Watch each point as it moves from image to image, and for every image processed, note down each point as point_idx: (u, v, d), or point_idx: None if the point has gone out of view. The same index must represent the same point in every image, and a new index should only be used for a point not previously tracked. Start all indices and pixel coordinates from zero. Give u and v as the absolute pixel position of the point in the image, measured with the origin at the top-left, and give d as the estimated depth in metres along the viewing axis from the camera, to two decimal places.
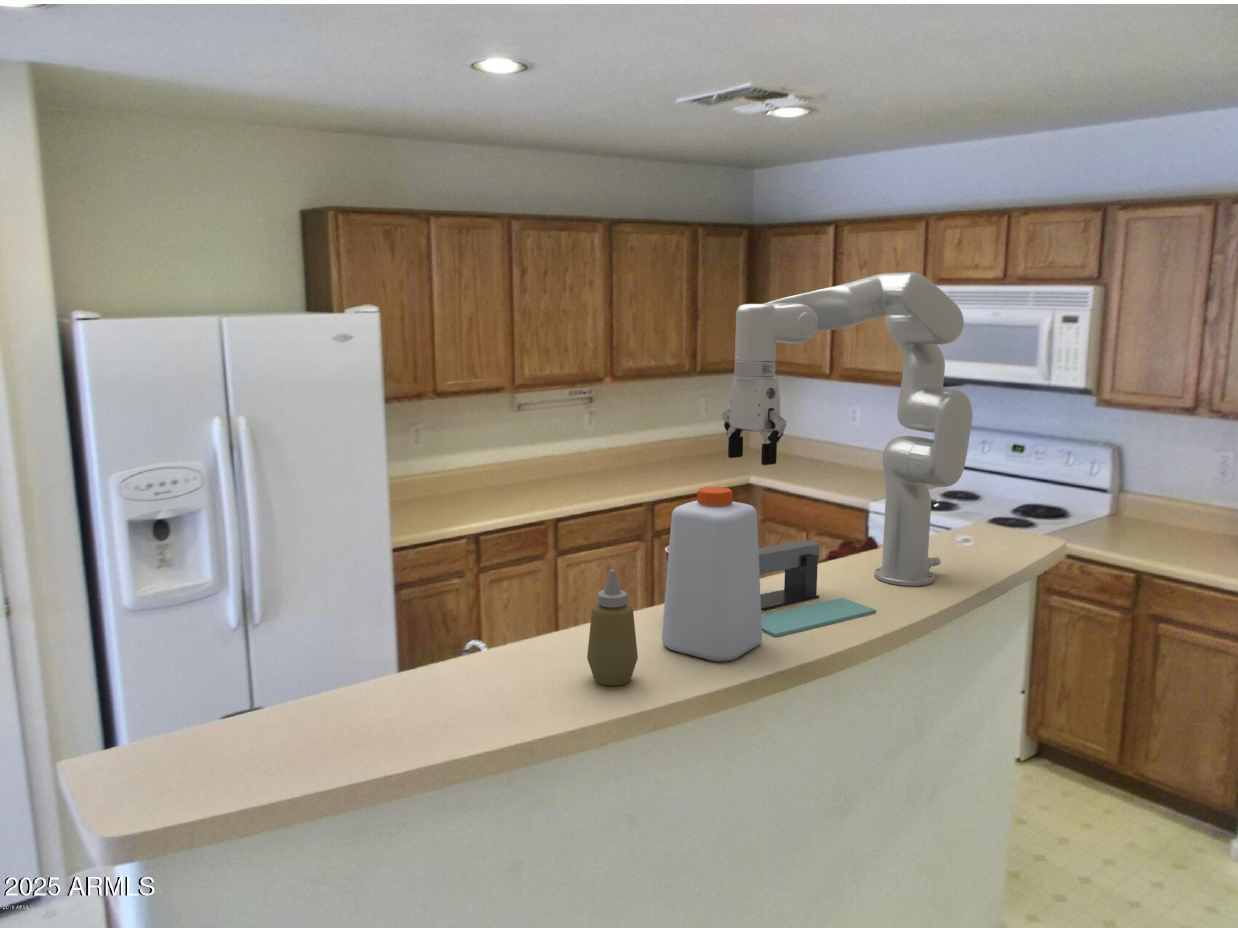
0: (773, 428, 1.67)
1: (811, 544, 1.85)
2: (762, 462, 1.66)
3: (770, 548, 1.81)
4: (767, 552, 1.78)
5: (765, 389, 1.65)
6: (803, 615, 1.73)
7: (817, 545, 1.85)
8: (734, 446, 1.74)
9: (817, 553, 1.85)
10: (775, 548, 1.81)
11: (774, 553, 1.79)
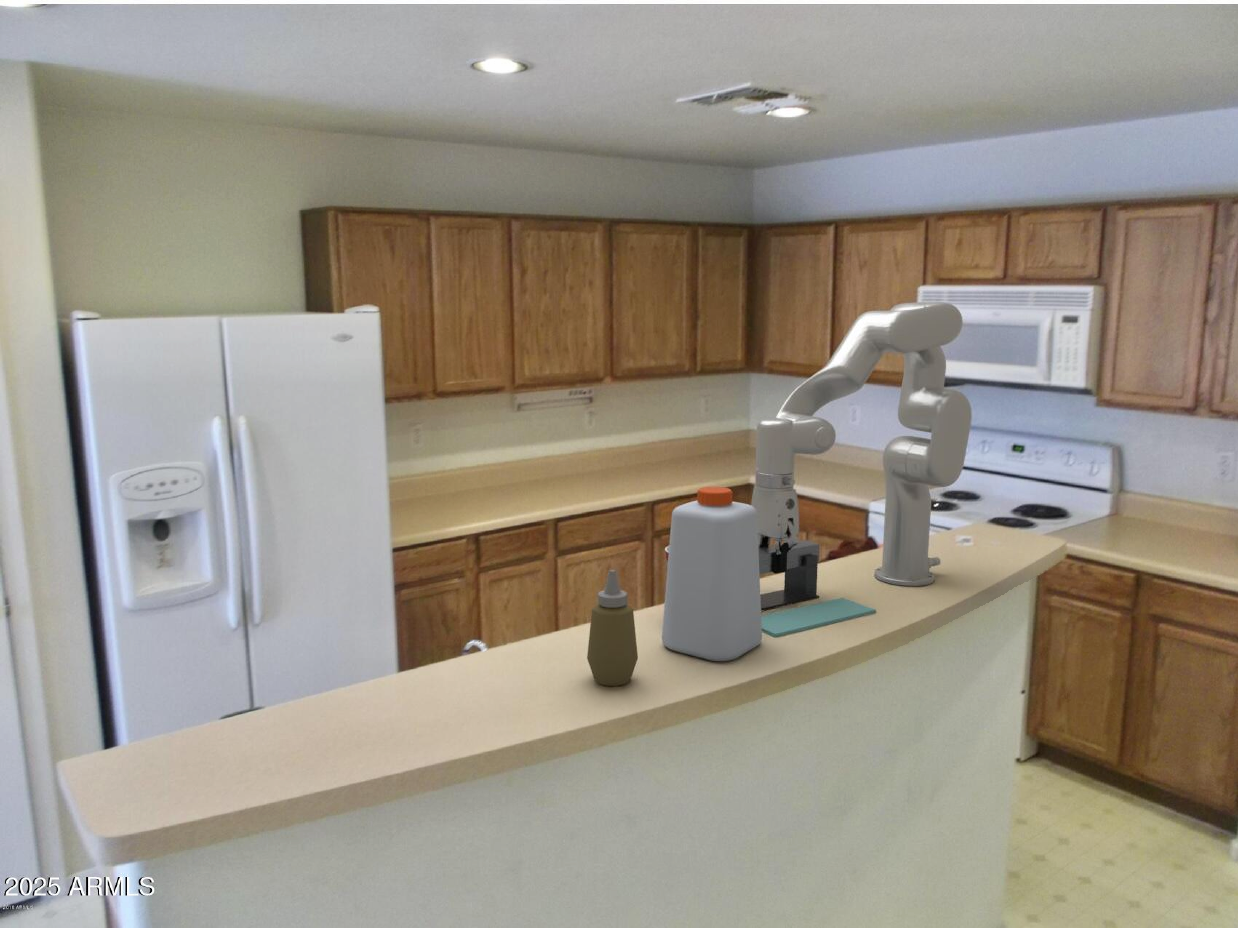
0: (787, 539, 1.78)
1: (811, 544, 1.85)
2: (773, 571, 1.79)
3: (770, 548, 1.81)
4: (767, 552, 1.78)
5: (785, 500, 1.75)
6: (803, 615, 1.73)
7: (817, 545, 1.85)
8: None
9: (817, 553, 1.85)
10: None
11: (774, 553, 1.79)
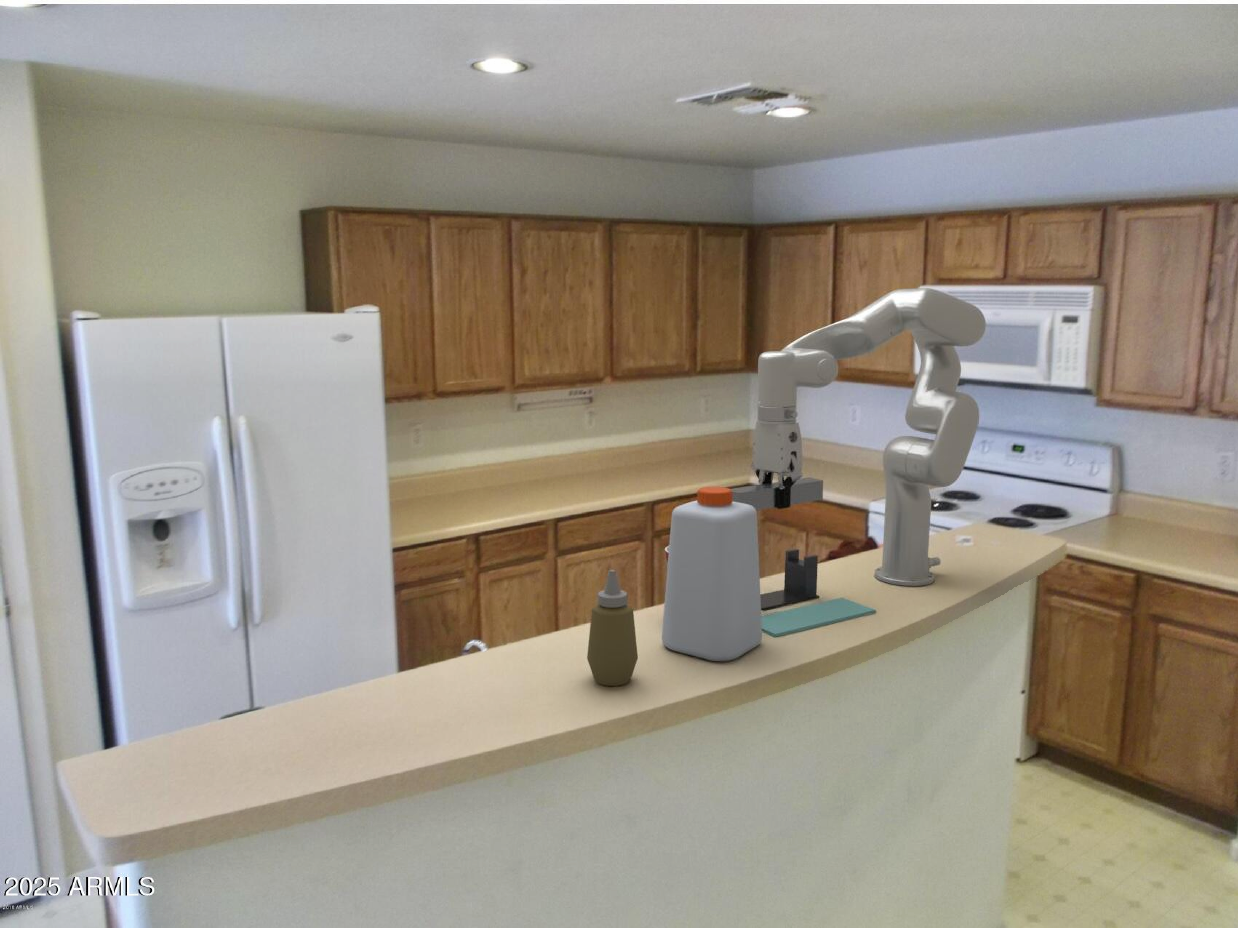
0: (791, 473, 1.76)
1: (815, 480, 1.83)
2: (777, 506, 1.77)
3: (773, 484, 1.79)
4: (770, 487, 1.76)
5: (787, 433, 1.73)
6: (803, 615, 1.73)
7: (821, 481, 1.83)
8: None
9: (821, 489, 1.83)
10: (778, 484, 1.79)
11: (777, 488, 1.77)
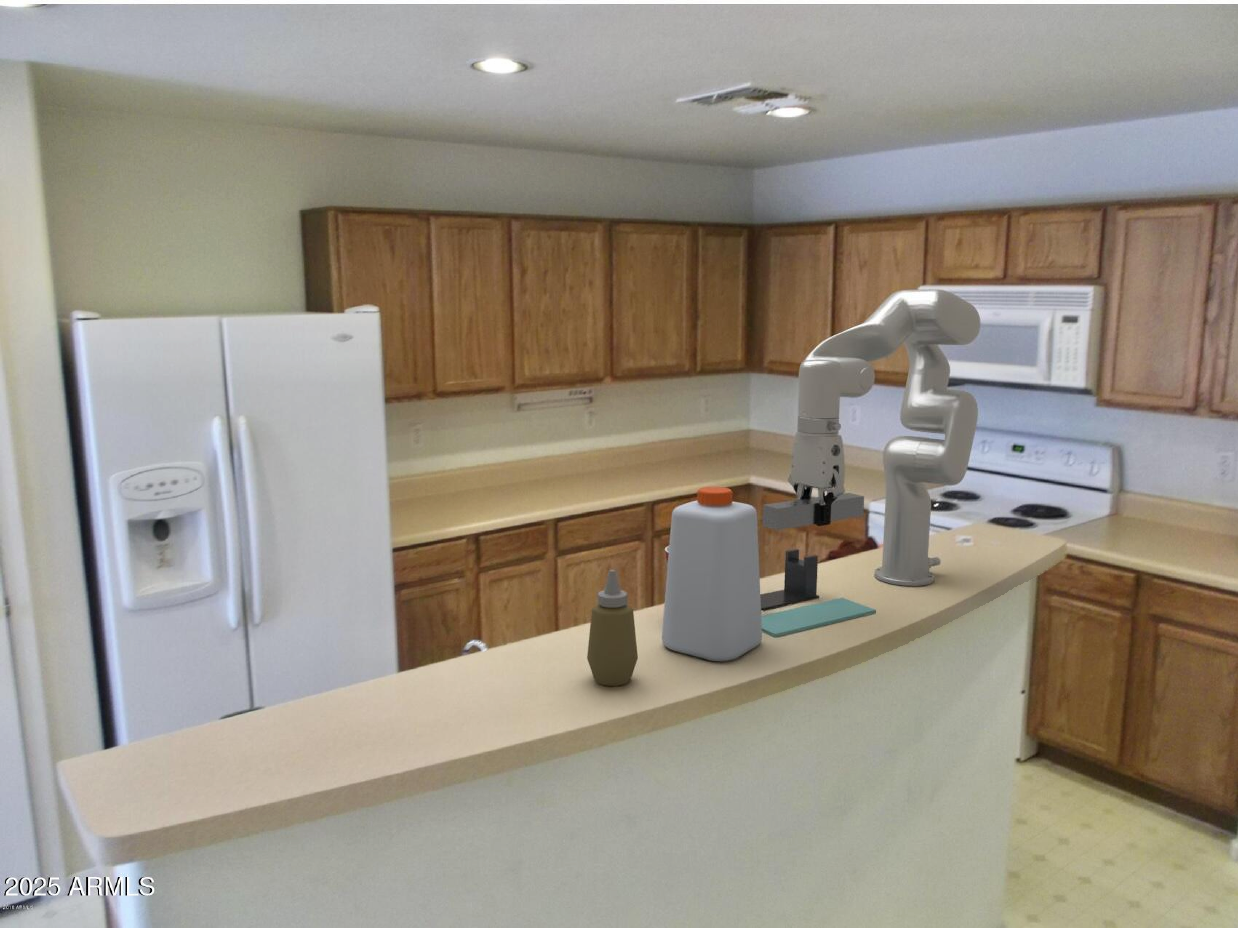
0: (832, 489, 1.67)
1: (855, 496, 1.73)
2: (817, 523, 1.67)
3: (812, 499, 1.70)
4: (810, 503, 1.67)
5: (830, 446, 1.63)
6: (803, 615, 1.73)
7: (862, 497, 1.73)
8: None
9: (862, 506, 1.73)
10: (818, 500, 1.70)
11: (817, 504, 1.67)
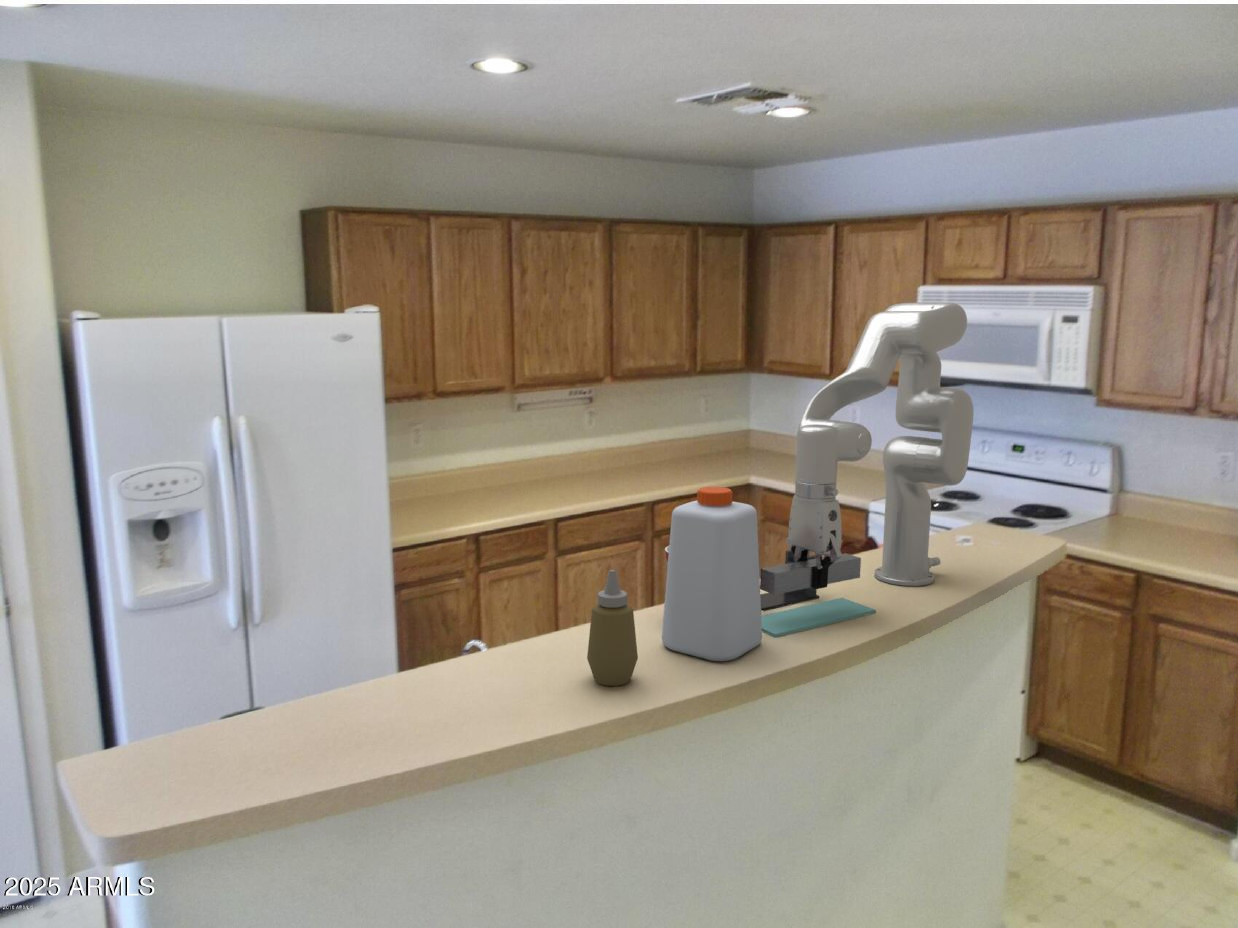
0: (829, 552, 1.69)
1: (852, 558, 1.75)
2: (814, 586, 1.69)
3: (809, 562, 1.72)
4: (807, 566, 1.69)
5: (827, 512, 1.65)
6: (803, 615, 1.73)
7: (858, 559, 1.75)
8: None
9: (858, 567, 1.75)
10: (815, 562, 1.72)
11: (814, 567, 1.69)
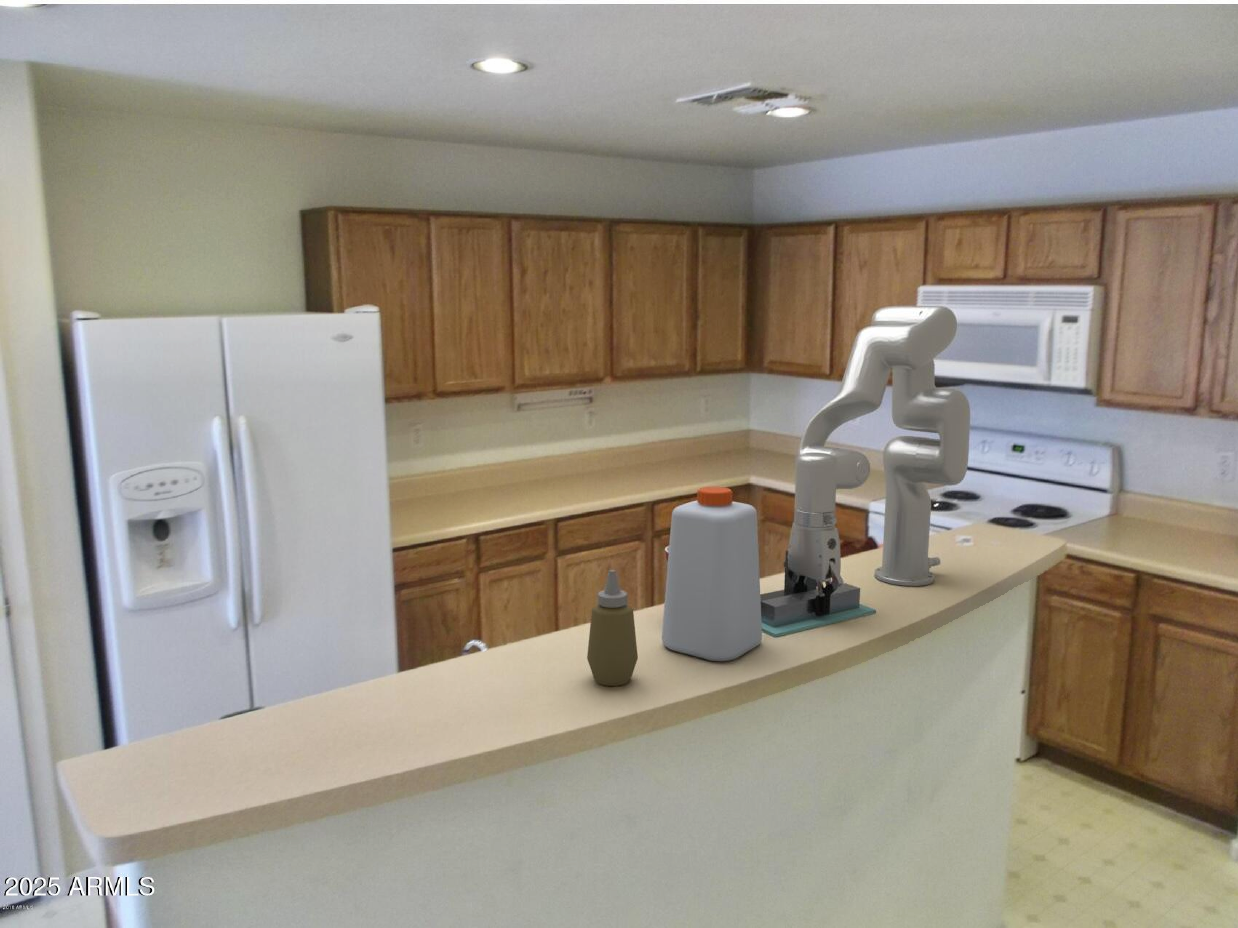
0: (830, 579, 1.69)
1: (851, 588, 1.76)
2: (816, 613, 1.69)
3: (809, 593, 1.73)
4: (807, 598, 1.70)
5: (826, 540, 1.66)
6: None
7: (858, 589, 1.76)
8: None
9: (858, 598, 1.77)
10: (815, 594, 1.73)
11: (814, 599, 1.70)
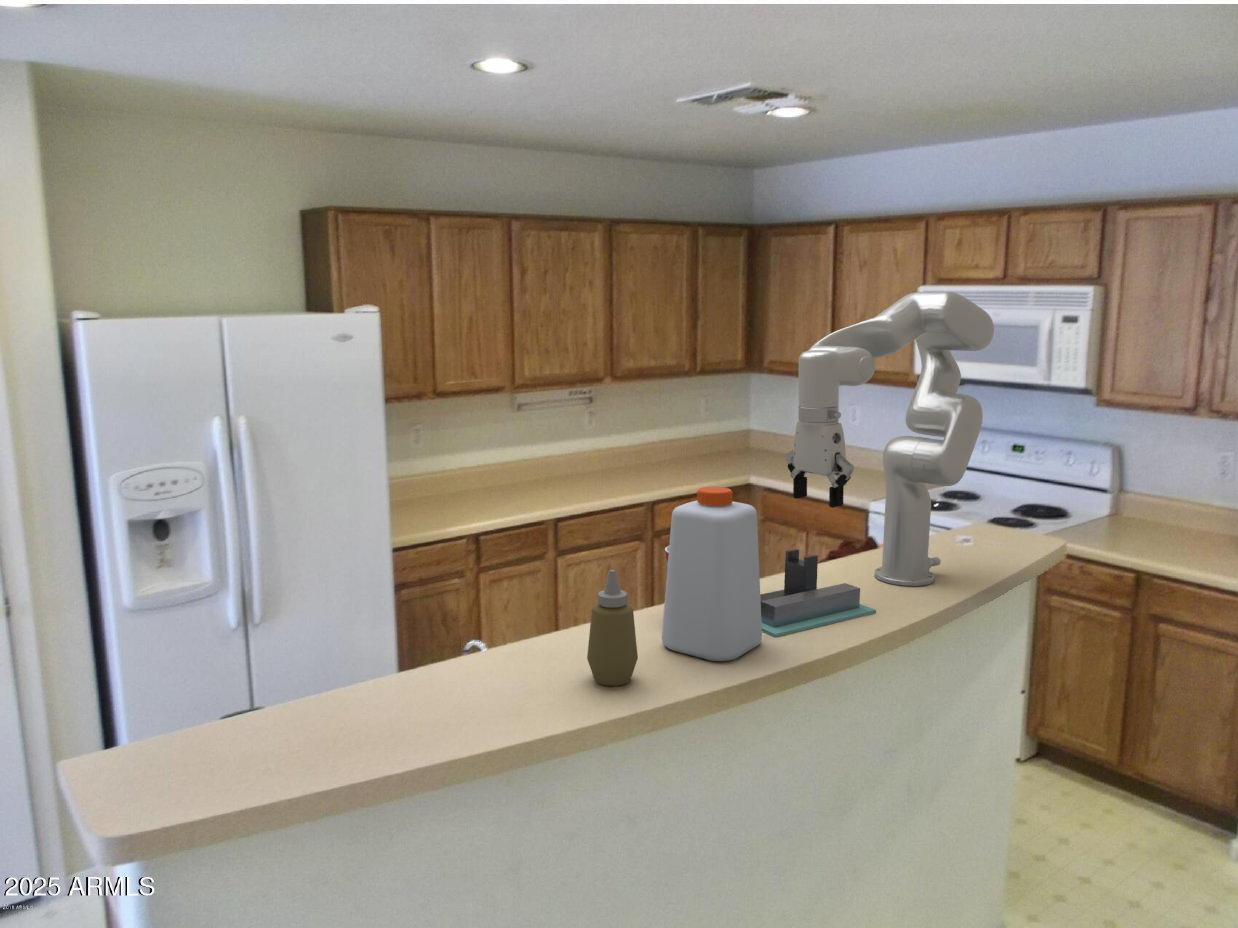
0: (839, 471, 1.72)
1: (851, 588, 1.76)
2: (830, 505, 1.71)
3: (809, 593, 1.73)
4: (807, 598, 1.70)
5: (831, 434, 1.69)
6: None
7: (858, 589, 1.76)
8: (799, 487, 1.79)
9: (858, 598, 1.77)
10: (815, 594, 1.73)
11: (814, 599, 1.70)
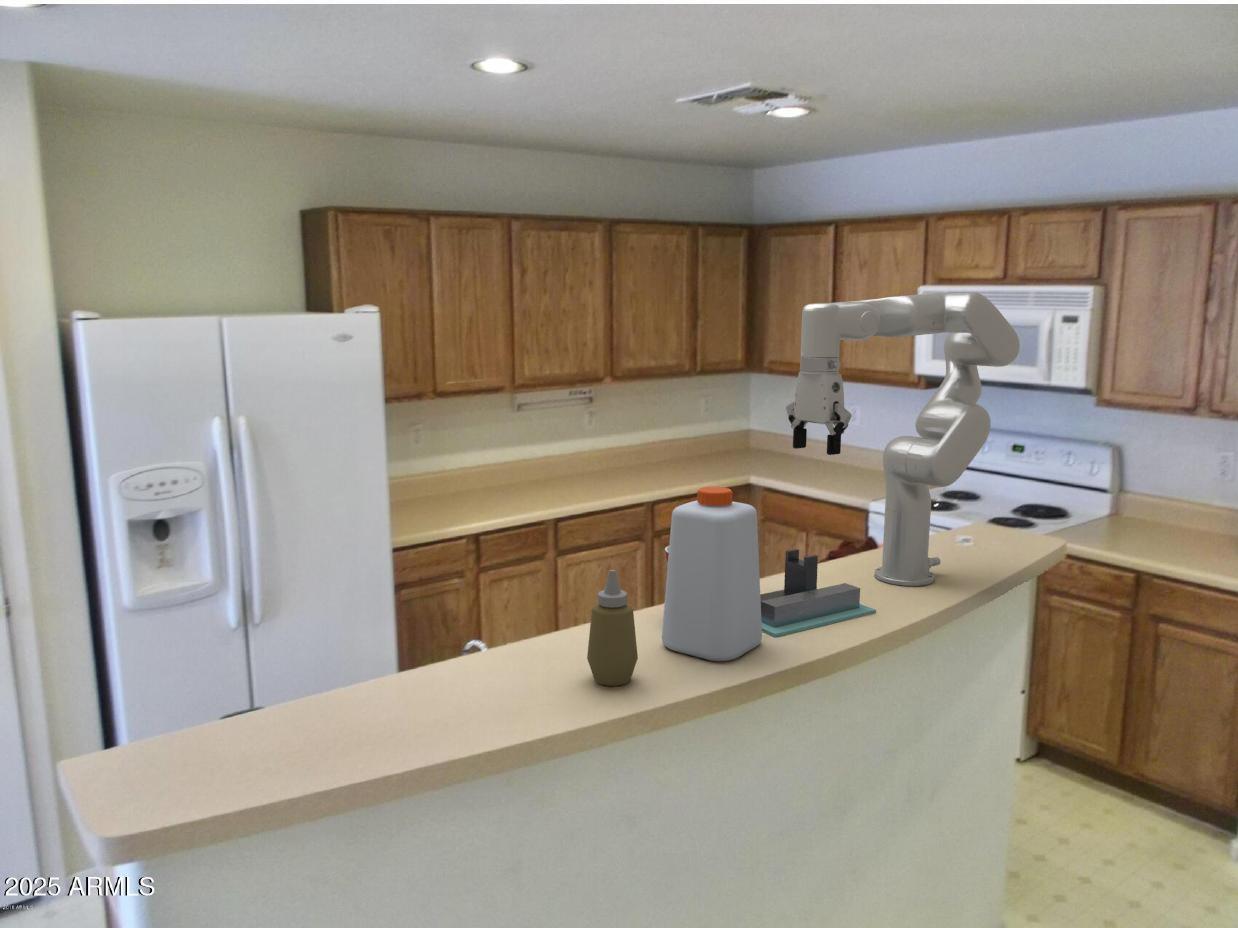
0: (837, 420, 1.78)
1: (851, 588, 1.76)
2: (827, 452, 1.77)
3: (809, 593, 1.73)
4: (807, 598, 1.70)
5: (831, 383, 1.75)
6: None
7: (858, 589, 1.76)
8: (798, 437, 1.85)
9: (858, 598, 1.77)
10: (815, 594, 1.73)
11: (814, 599, 1.70)
